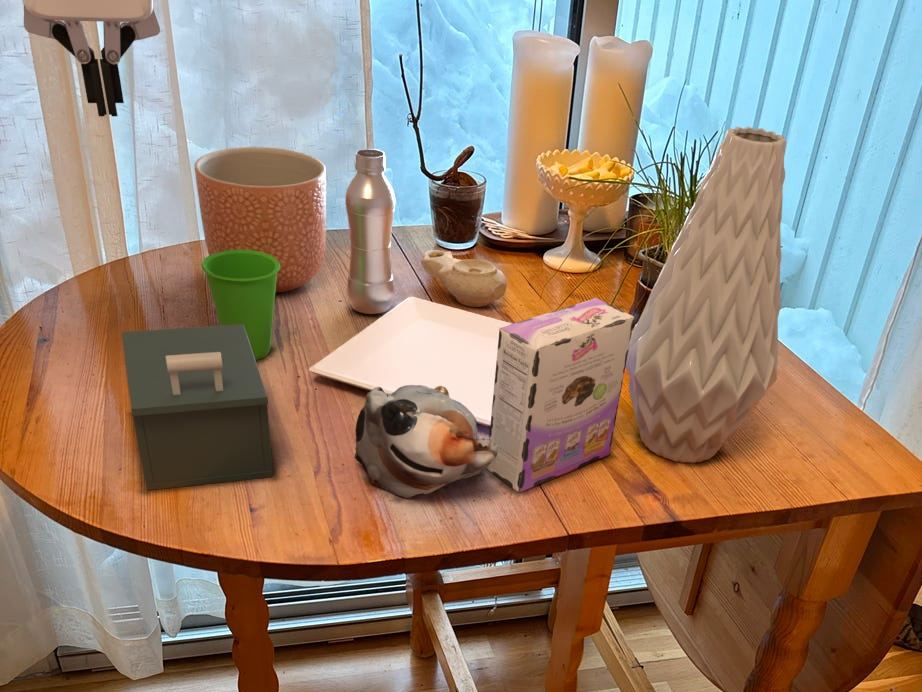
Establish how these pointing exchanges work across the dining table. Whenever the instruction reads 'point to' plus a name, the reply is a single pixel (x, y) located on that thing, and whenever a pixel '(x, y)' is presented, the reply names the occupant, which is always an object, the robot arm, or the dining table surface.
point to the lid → (191, 369)
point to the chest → (204, 446)
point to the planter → (265, 207)
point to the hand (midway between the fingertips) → (107, 111)
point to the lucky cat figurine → (418, 440)
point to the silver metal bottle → (370, 234)
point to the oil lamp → (466, 277)
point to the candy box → (557, 391)
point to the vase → (714, 307)
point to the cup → (244, 293)
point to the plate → (423, 354)
